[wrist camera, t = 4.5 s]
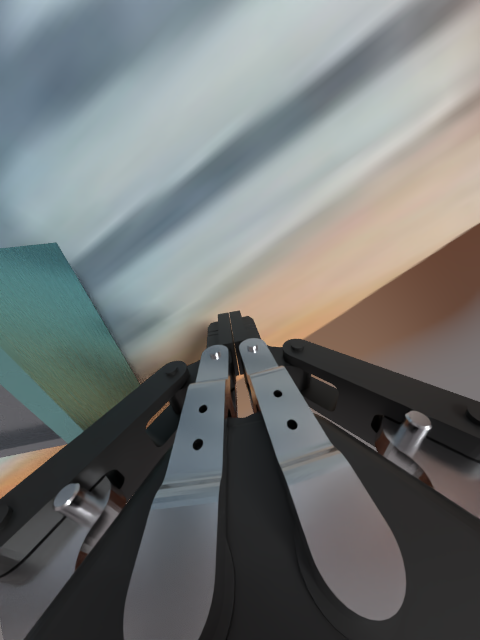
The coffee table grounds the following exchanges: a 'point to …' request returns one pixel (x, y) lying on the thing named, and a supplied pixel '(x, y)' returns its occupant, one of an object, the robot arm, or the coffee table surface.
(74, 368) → the grey toy bed
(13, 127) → the coffee table surface
